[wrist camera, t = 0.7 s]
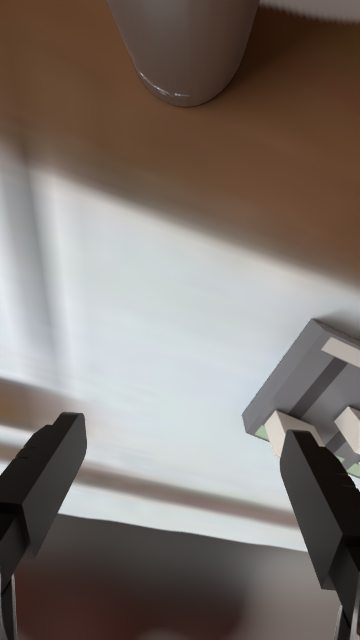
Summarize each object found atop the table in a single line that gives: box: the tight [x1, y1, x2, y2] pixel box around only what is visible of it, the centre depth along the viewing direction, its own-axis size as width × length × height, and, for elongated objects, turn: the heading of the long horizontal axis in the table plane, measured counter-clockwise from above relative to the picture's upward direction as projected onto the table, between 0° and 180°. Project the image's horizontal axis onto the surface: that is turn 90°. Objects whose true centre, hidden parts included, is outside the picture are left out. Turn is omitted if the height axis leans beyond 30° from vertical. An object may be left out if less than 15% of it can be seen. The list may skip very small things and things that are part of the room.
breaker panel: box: [242, 319, 360, 479], centre depth 30 cm, size 15×20×3 cm
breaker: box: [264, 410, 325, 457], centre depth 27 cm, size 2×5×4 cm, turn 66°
